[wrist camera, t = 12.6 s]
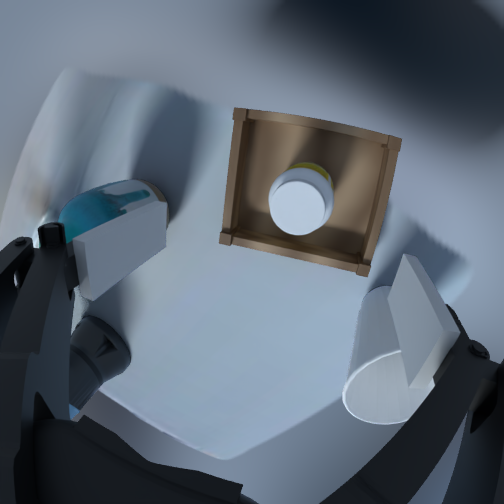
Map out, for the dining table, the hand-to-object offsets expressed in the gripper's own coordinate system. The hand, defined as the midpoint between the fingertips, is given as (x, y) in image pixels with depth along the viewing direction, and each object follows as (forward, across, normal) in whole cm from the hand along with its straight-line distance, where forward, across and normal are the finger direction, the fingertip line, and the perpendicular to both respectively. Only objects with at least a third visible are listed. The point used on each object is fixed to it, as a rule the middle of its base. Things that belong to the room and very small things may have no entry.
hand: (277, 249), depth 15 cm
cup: (+22, +14, -14) cm, 29 cm away
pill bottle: (+21, 0, 0) cm, 21 cm away
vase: (+22, -22, -7) cm, 31 cm away
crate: (+21, 0, 0) cm, 21 cm away
